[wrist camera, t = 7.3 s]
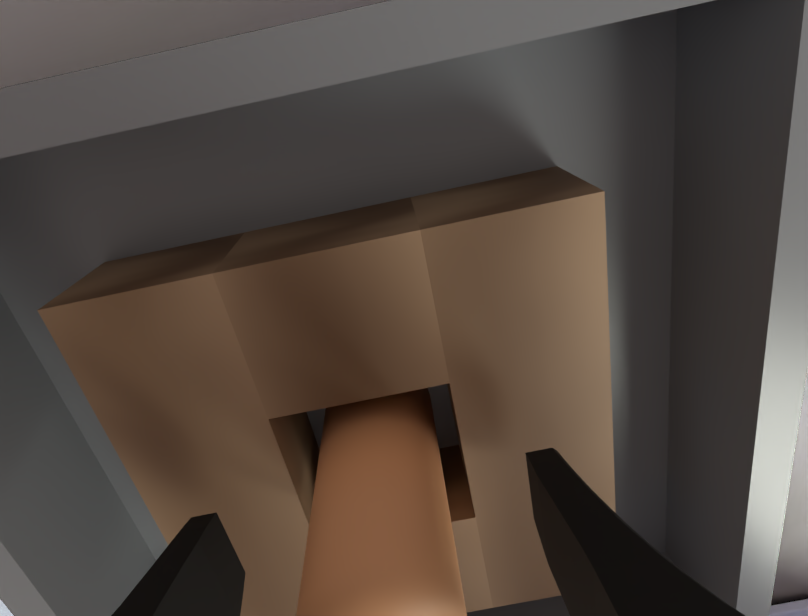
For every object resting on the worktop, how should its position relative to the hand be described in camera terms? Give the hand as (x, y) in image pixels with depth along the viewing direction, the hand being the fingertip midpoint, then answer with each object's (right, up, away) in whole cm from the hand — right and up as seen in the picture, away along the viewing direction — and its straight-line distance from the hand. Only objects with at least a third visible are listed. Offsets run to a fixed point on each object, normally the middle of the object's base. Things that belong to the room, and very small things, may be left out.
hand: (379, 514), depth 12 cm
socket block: (0, +2, +5) cm, 5 cm away
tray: (0, +2, +5) cm, 5 cm away
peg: (0, +2, +4) cm, 4 cm away
